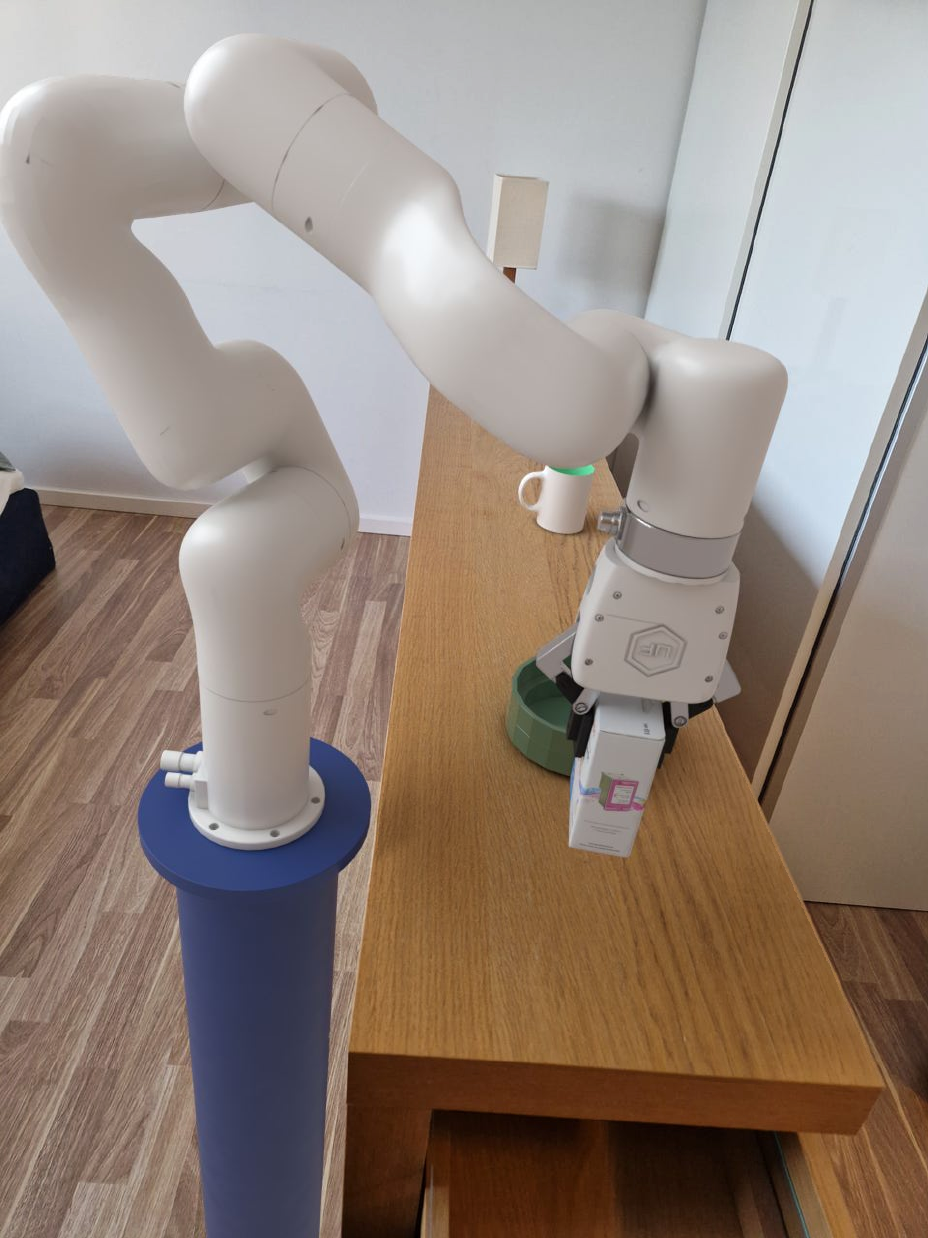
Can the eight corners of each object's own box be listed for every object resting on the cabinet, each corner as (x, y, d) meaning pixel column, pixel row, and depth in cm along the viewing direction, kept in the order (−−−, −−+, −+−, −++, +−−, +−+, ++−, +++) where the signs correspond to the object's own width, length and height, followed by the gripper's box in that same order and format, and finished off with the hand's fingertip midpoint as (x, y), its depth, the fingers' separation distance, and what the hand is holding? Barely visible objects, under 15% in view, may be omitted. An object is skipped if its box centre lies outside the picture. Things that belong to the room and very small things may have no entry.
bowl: (504, 773, 93) (512, 729, 90) (505, 684, 107) (511, 644, 104) (654, 790, 93) (667, 747, 90) (635, 700, 107) (646, 660, 104)
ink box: (566, 774, 73) (597, 659, 67) (625, 784, 73) (661, 670, 67) (565, 848, 66) (598, 727, 60) (630, 860, 66) (671, 740, 60)
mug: (519, 532, 144) (529, 473, 139) (509, 511, 151) (518, 454, 146) (588, 534, 147) (600, 476, 141) (575, 513, 153) (586, 457, 148)
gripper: (548, 545, 53) (503, 769, 63) (821, 584, 54) (735, 801, 63) (545, 496, 60) (504, 706, 69) (789, 531, 60) (716, 735, 70)
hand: (615, 749), depth 66 cm, fingers closed on ink box, 5 cm apart
